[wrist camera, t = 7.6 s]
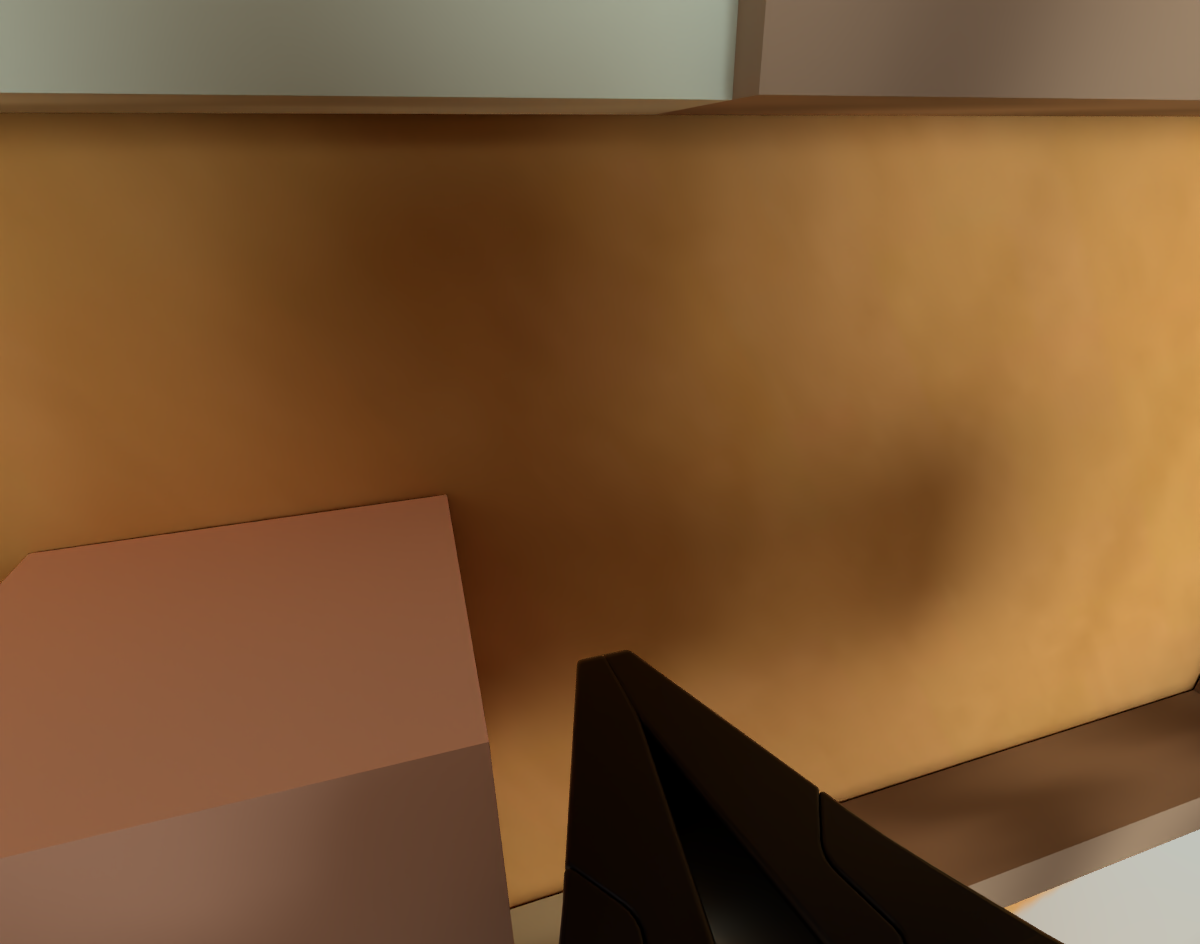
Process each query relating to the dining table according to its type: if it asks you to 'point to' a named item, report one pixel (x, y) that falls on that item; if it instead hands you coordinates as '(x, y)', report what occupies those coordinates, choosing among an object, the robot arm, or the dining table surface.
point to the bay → (707, 87)
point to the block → (248, 739)
